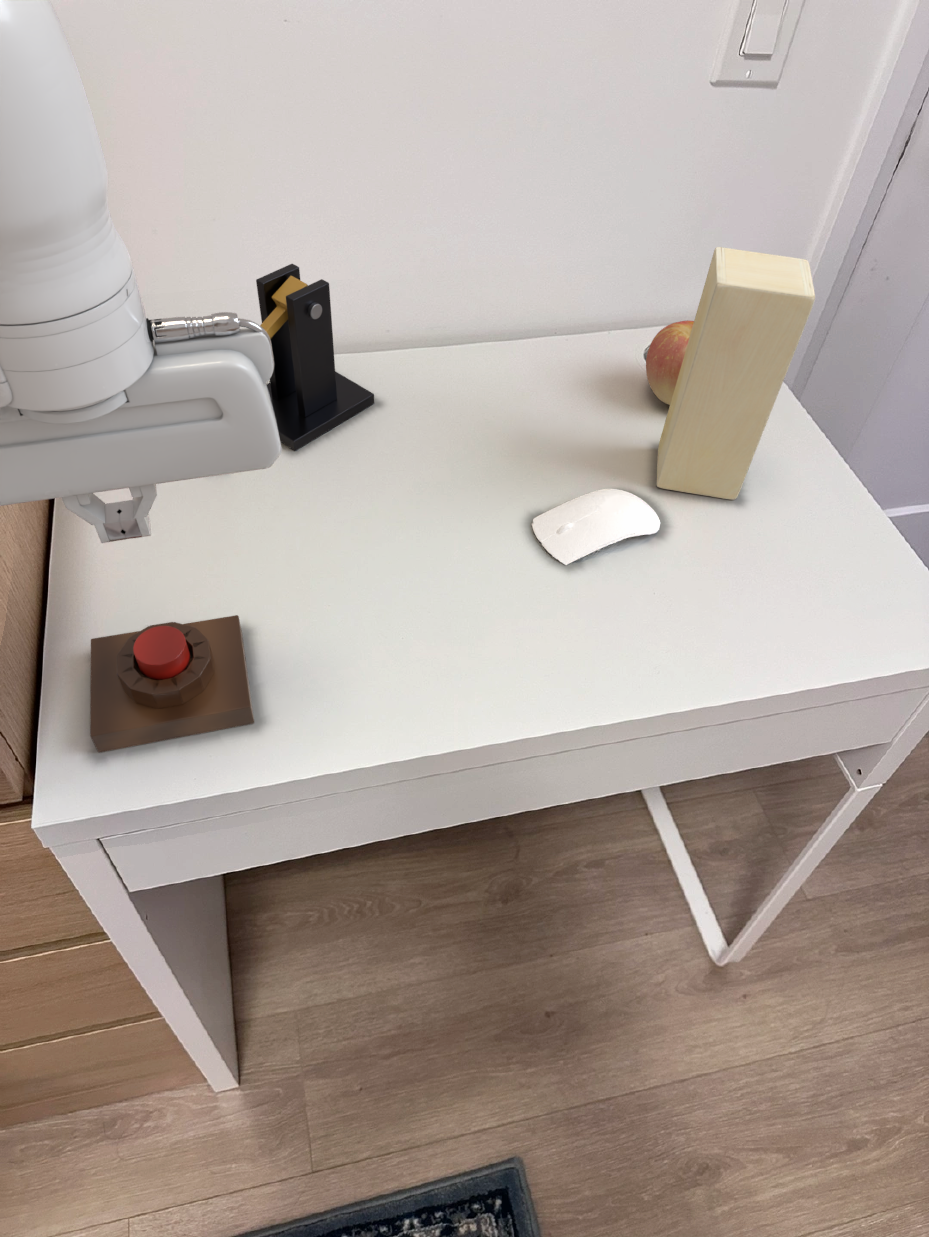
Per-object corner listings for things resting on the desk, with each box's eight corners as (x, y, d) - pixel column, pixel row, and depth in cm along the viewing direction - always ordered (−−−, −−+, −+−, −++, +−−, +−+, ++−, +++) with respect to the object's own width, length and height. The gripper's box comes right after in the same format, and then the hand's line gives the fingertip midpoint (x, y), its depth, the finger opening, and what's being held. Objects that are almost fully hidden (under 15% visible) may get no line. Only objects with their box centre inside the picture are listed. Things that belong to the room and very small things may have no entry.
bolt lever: (213, 436, 79) (200, 421, 76) (178, 413, 81) (164, 397, 78) (327, 307, 81) (317, 289, 79) (291, 287, 83) (280, 269, 81)
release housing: (98, 753, 62) (82, 721, 59) (98, 656, 68) (83, 623, 65) (254, 723, 64) (247, 692, 61) (242, 632, 70) (234, 599, 67)
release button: (139, 684, 62) (133, 669, 61) (137, 645, 64) (132, 630, 63) (191, 674, 63) (187, 659, 61) (188, 637, 65) (183, 621, 64)
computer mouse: (523, 520, 80) (526, 501, 79) (632, 488, 84) (637, 469, 82) (559, 569, 76) (563, 550, 75) (672, 533, 80) (678, 514, 79)
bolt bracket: (294, 451, 85) (279, 323, 75) (234, 412, 89) (212, 284, 78) (374, 403, 91) (370, 278, 80) (315, 368, 94) (304, 244, 84)
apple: (630, 408, 93) (646, 341, 87) (649, 365, 98) (665, 299, 92) (711, 429, 91) (733, 362, 85) (725, 384, 96) (747, 318, 90)
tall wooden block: (736, 454, 88) (809, 254, 73) (738, 501, 84) (817, 298, 68) (657, 442, 89) (712, 241, 73) (655, 488, 84) (713, 284, 68)
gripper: (259, 279, 47) (288, 476, 58) (-157, 319, 43) (-44, 523, 54) (274, 341, 43) (302, 541, 54) (-182, 393, 39) (-55, 597, 50)
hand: (126, 533), depth 54 cm, fingers closed
